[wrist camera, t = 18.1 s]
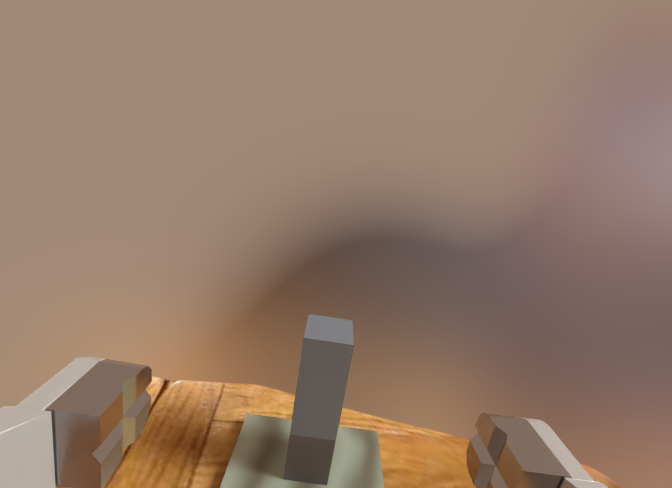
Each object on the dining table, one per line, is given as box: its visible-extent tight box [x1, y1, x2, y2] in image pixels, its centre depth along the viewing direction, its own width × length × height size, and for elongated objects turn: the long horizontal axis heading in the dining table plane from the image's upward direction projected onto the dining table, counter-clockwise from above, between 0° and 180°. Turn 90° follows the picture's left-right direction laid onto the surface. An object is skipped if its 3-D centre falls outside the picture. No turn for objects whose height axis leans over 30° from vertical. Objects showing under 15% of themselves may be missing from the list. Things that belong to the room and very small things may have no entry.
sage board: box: [220, 414, 384, 488], centre depth 43 cm, size 20×13×2 cm, turn 89°
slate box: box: [283, 314, 354, 485], centre depth 40 cm, size 6×6×20 cm
